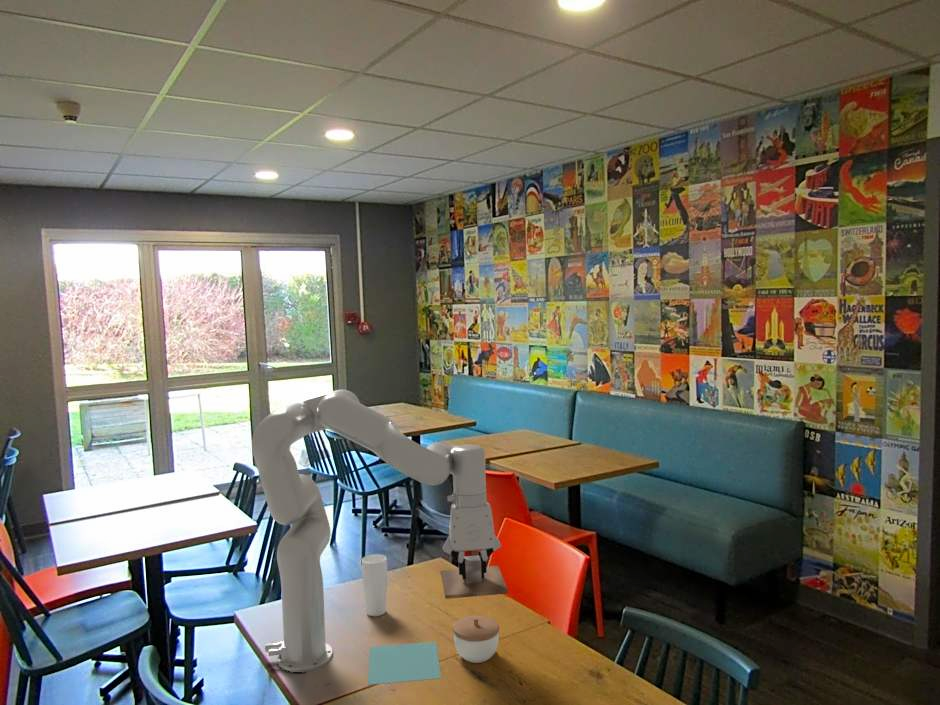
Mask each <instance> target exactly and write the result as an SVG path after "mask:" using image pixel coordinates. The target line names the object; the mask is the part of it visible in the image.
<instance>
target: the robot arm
mask: <svg viewBox="0 0 940 705" xmlns="http://www.w3.org/2000/svg"><path fill="white" fill-rule="evenodd" d="M325 430H330V431H331V432H333V433H335V434H337V435H339V436H341V437H343V438H344V439H347V440H349V441H351V442H353V443H356V444H357V445H360V446H361V447H363V448H366V450H369V451H371V452H372V453H374V454H375V455H376V456H377V457H378V458H379V459H380V460H382V461H384V462H385V463H386V464H387V465H389V466H390V467H391V468H393V469H395V470H396V471H397V472H399V473H401V474H403V475H405V476H407V477H409V478H410V479H413V480H415V481H417V482H419V483H420V484H421V483H422V484H424V485H428V486H439V485H442V483H444V482H445V481H446V480H447V479H448V477H449V476H450V475H452V486H453V492H452V494H450V495H447V502H452V504H451V506H450V512H449V513H450V514H449V527H448V528H449V529H448V530H449V531H448V532H449V533H448V534H449V535H448V536H447V538H446V540H445V542H444V544H443V545H442V551H443V552H444V553H446V554H448V555H450V556H451V557H453V558H454V559H455V560H456V561H457V562H458V569H459V575H462V578H463V580H465V579H466V570H465V561H464V556H465V552H469V551H470V552H471V551H480V555H479V557H480V560H481V577H482V578H484V573H487V570H486V567H487V561H488V559H489V558H490V556H491V555H492V554H493V553H494V552H495V551H496V550H498V549H500V548H501V547H502V543H501V542H500V540H499V539H498V537H497V535H495V529H494V518H493V514H492V507H491V504H490V503H489V502H488V501H487V481H486V480H487V478H486V454H485V453H486V452H485V449H484V448H483V447H482V446H481V445H478V444H472V443H470V444H469V443H468V444H462V445H461V444H460V445H455V444H452V445H451V444H445V443H432V444H429V445H428V446H426V447H425V446H423V445H421V444H419V443H417V442H416V441H414V440H412V439H411V438H409V437H408V436H407V435H405V434H404V433H403V432H401V430H400V428H398V426H397V425H396V423H395V422H394V421H393V419H391V418H390V417H388V416H386V415H384V414H382V413H380V412H378V411H376V410H374V409H373V408H370V407H369V406H366V405H365V404H362V403H360V399H359V398H358V397H357V395H356V394H355V393H353V392H352V391H350V390H348V389H341V388H340V389H336V390H333V391H330V392H326V393H324V394H320V395H317V396H312V397H310V398H309V397H308V398H306V399H305V398H304V399H302V400H298V401H295V402H292V403H288V404H287V405H285V406H283V407H280V408H278V409H276V410H274V411H273V412H271V413H270V414H268V415H267V416H266V417H265V418H263V419H262V421H261V422H259V424H258V426H257V427H256V428H255V430H254V432H253V434H252V438H251V450H252V456H253V458H254V462H255V466H256V469H257V471H258V475H259V479H260V484H261V486H262V490H263V493H264V496H265V499H266V504H267V507H268V511H269V513H270V515H271V518H272V519H273V520H274V521H275V522H276V523H277V524H279V525H282V526H288V525H289V526H290V528H289V529H288V531H287V532H286V533H285V534H284V535H283V537H282V538H281V540H279V543H278V546H277V550H276V561H277V567H278V572H279V577H280V587H281V588H280V590H281V604H282V606H281V608H282V629H283V632H282V633H283V640H279V642H268V643H267V642H266V643H265V645H264V652H265V653H268V656H269V657H274V656H277V665H278V664H279V665H278V667H279V666H280V667H281V668H282V670H283V669H284V670H283V671H285V670H287V671H286V672H288V671H290V672H289V673H293V672H302V673H307V672H309V671H313V670H316V669H318V668H321V667H323V666H325V665H326V664H327V663H329V661H331V660H332V658H333V655H334V653H333V652H334V651H333V650H334V649H333V647H332V646H331V645H330V644H329V643H326V621H325V620H326V618H325V616H326V615H325V599H324V597H325V596H324V582H323V581H324V580H323V579H324V578H323V573H322V566H321V556H322V553H323V552H324V550H326V547H327V546H328V545H329V542H330V541H331V540H330V539H331V532H332V531H331V526H330V523H329V518H328V516H327V512H326V508H325V505H324V501H323V498H322V494H321V491H320V488H319V487H318V484H317V483H316V482H315V481H314V479H313V478H311V477H310V476H308V475H306V474H303V473H299V469H298V465H297V463H296V460H295V457H294V456H293V454H292V452H291V446H292V445H293V444H294V443H295V442H297V441H299V440H301V439H303V438H304V437H305V436H308V435H310V434H313V433H317V432H321V431H325ZM280 667H279V668H280ZM281 668H280V669H281Z"/></svg>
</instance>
